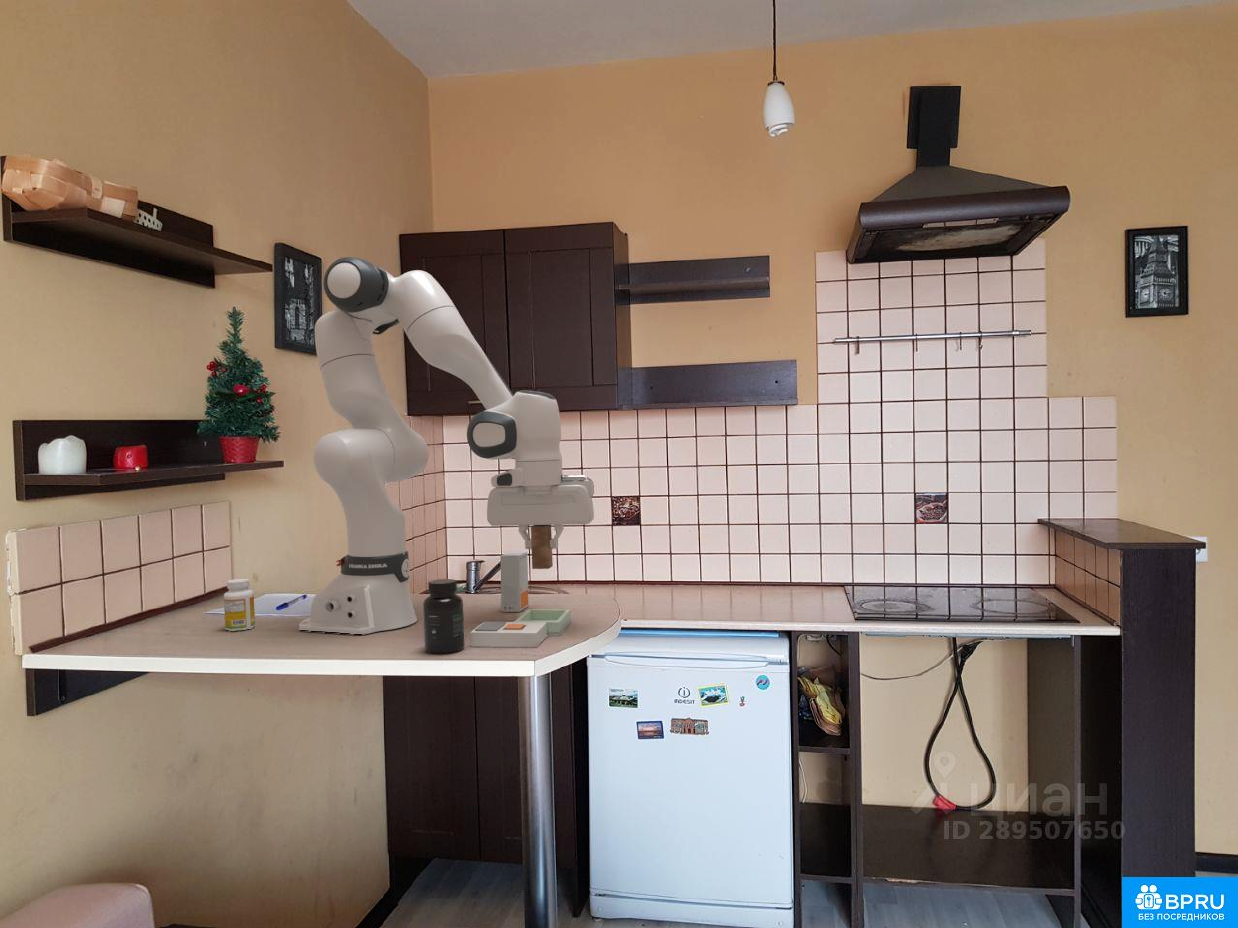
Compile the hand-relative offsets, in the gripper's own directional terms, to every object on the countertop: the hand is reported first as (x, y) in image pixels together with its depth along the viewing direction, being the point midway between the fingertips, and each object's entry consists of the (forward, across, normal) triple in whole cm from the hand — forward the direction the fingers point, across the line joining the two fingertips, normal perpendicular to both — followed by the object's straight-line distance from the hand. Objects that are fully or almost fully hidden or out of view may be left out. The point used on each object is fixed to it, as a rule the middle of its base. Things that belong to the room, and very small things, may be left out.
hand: (541, 548), depth 156 cm
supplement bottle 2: (+15, +14, +15) cm, 26 cm away
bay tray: (+15, 0, 0) cm, 15 cm away
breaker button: (+15, +3, +10) cm, 18 cm away
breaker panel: (+15, +4, +9) cm, 18 cm away
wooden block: (+4, 0, 0) cm, 4 cm away
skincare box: (+15, +10, -17) cm, 25 cm away
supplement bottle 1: (+15, +61, +2) cm, 63 cm away
